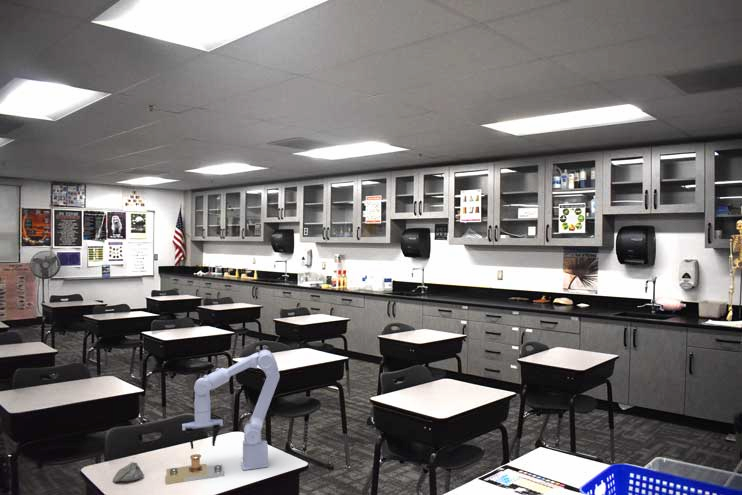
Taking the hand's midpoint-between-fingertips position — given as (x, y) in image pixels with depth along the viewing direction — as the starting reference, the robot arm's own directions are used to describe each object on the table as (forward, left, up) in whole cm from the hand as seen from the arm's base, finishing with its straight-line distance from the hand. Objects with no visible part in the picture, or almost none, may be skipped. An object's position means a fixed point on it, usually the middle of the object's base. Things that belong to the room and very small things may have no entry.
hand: (202, 446), depth 200 cm
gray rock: (+26, -3, -10) cm, 28 cm away
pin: (+3, +3, -9) cm, 10 cm away
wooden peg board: (+3, +4, -9) cm, 10 cm away
